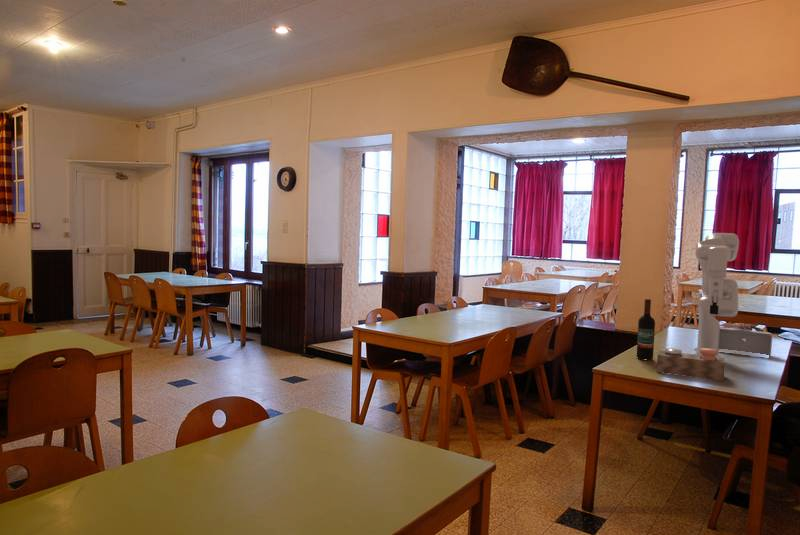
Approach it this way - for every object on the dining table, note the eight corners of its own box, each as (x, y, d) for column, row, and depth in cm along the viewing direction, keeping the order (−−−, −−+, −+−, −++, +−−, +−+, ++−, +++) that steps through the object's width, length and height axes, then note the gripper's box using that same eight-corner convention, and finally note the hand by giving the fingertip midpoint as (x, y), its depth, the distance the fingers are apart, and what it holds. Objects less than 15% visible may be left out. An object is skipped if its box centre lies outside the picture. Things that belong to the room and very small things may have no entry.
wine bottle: (655, 358, 269) (658, 299, 266) (650, 361, 263) (653, 301, 261) (639, 356, 274) (642, 298, 272) (634, 358, 268) (637, 299, 266)
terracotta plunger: (699, 369, 236) (700, 350, 235) (699, 366, 242) (700, 347, 241) (716, 371, 233) (718, 352, 232) (716, 368, 239) (717, 349, 238)
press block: (656, 372, 242) (657, 354, 242) (658, 367, 252) (659, 350, 251) (723, 381, 230) (724, 362, 229) (722, 375, 239) (723, 357, 239)
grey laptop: (771, 354, 286) (773, 331, 285) (770, 359, 273) (771, 335, 273) (717, 347, 301) (719, 325, 300) (714, 351, 288) (715, 329, 287)
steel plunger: (663, 368, 243) (664, 350, 242) (664, 365, 249) (665, 347, 248) (680, 371, 240) (681, 352, 239) (680, 367, 246) (682, 349, 245)
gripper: (726, 276, 233) (723, 317, 235) (725, 272, 246) (722, 311, 248) (707, 275, 237) (704, 316, 239) (706, 271, 250) (704, 310, 252)
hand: (713, 313), depth 243 cm, fingers closed
